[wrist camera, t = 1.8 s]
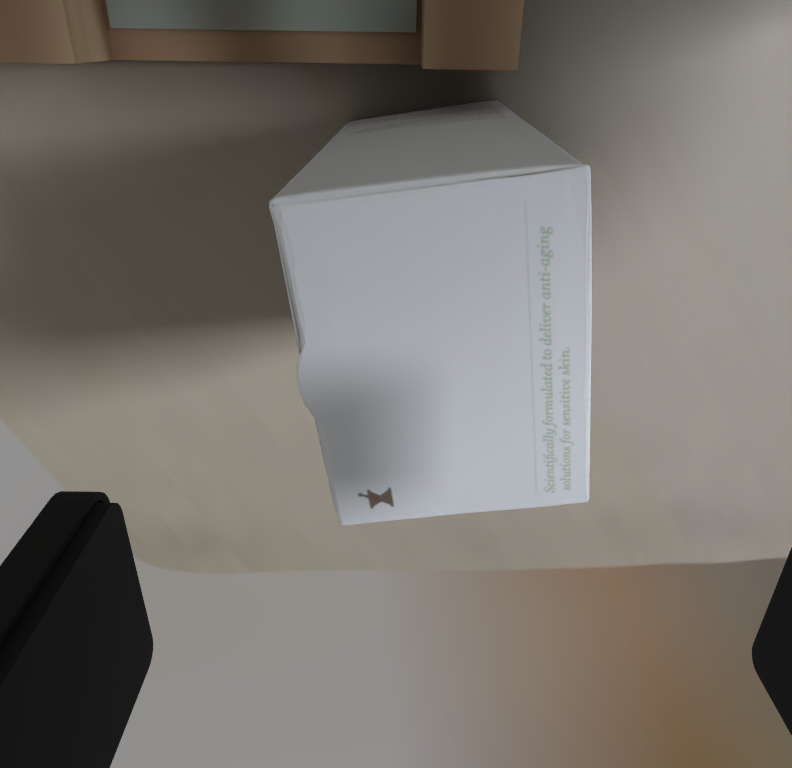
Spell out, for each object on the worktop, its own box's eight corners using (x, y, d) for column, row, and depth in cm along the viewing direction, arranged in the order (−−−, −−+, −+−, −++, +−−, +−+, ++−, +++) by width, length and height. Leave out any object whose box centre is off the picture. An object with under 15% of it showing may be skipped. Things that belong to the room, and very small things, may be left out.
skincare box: (509, 290, 29) (601, 519, 16) (365, 306, 30) (331, 543, 16) (500, 88, 25) (614, 158, 12) (334, 111, 26) (254, 204, 12)
